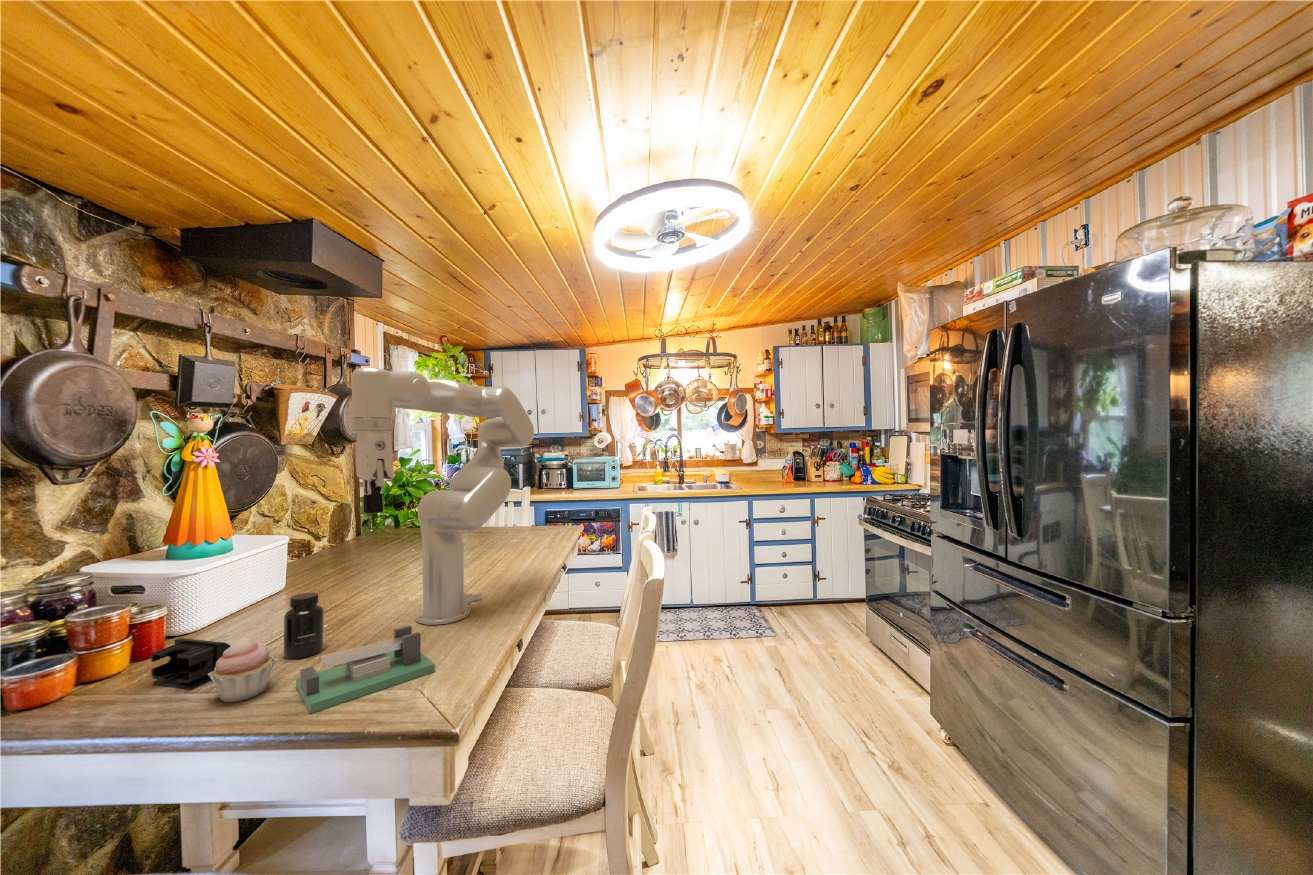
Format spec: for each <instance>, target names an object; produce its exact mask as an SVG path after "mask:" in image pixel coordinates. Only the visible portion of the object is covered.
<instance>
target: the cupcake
mask: <svg viewBox="0 0 1313 875" xmlns="http://www.w3.org/2000/svg"><path fill="white" fill-rule="evenodd" d="M230 646H231V647H230V648H228V649H227V650H225V651H224V652H223V656H222V657H221V658H220V659H219V660H218V661H217V662H216V668H214V670H215V671H213V672H211V673H209V674H208V675H209V677H210V678H211V680H212V682H213V684H214V685H215V690H216V692H217V696H218V697H219V700H220V701H222V702H224V703H235V702H241V701H244V700H248V699H252V698H253V697H256V696H258V695H260V694H261V693H263V692H264V691H265V690H266V689H267V686H268V682H269V680H270V677H271V676H270V675H271V672H272V670H273V668H274V667H275V665H276V663H277V662H278V659H276V658H274V655H270V654H269V653H270V652H269V650H268V647H267V645H266V644H264V643H262V642H259V641H254V640H252V639H249V638H247V637H244V636H241V637H240V638H239V640H238V641H237V642H236V643H234V644H233V645H230Z"/></svg>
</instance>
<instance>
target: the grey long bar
mask: <svg viewBox="0 0 1313 875" xmlns="http://www.w3.org/2000/svg"><path fill="white" fill-rule="evenodd" d="M404 636H405V635H404ZM399 649H402V637H399V638H394V637H393V638H390V639H387V640H381V641H378V642H374V643H369V644H365V645H360V646H357V647H352V648H351V647H350V648H348V649H344V650H340V651H335V652H330V653H327V654H323V655H321V660H320V661H321V662H320V663H321V664H322V665H323V667H324V668H325V669H327V668H331V667H334V666H335V667H336V666H338V665H341V664H342V665H344V664H345V663H347V662H351V661H355V660H359V659H363V658H367V657H371V656H375V655H379V654H383V653H387V652H391V651H395V650H399Z"/></svg>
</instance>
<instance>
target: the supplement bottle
mask: <svg viewBox="0 0 1313 875" xmlns="http://www.w3.org/2000/svg"><path fill="white" fill-rule="evenodd" d="M289 603H290V604H289V607H290V609H288V610H287V611H286V612H285V614H284V617H283V656H284V657H285V658H287V659H290V660H298V659H304V658H309V657H311V656H314V655H316V654H318V653H320V652H321V651H322V650H323V648H324V630H325V629H324V628H325V627H324V620H325V618H324V617H325V616H324V613H325V612H324V611H325V610H324V608H323V606H322V605H319V593H318V592H313V591H312V592H303V593H298V594H294V595H292V596H291V597H290V600H289Z"/></svg>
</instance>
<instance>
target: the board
mask: <svg viewBox="0 0 1313 875" xmlns="http://www.w3.org/2000/svg"><path fill="white" fill-rule="evenodd" d="M412 630H413V628H412V625H405V626H401V627H398V628H394V629H393V639H394V638H399V637H402V649H399V650H395V651H391V652H387V653H383V654H379V655H375V656H371V657H367V658H363V659H359V660H355V661H351V662H347V663H344V664H342V665H340V666H335V667H333V668H329V669H325V670H322V671H318V672H317V671H316V669H315V668H314V666H312V665H311V666H309V667H305V668H302V669H300V677H297V678H295V688H296V690H297V691H298V693H299V695H300V697H301V699H302V700H303V704H305V706H306V708H307V710H308V712H309V714H313V713H316V712H320V711H322V710H326V709H328V708H331V707H334V706H337V705H340V704H343V703H346V702H349V701H352V700H355V699H358V698H361V697H364V696H367V695H370V694H373V693H376V692H379V691H382V690H385V689H387V688H390V687H394V686H397V685H399V684H402V683H405V682H409V681H412V680H415V679H416V678H417V679H418V678H420V677H423V676H426V675H429V674H432V673H435V672H436V664H435V663H434V662H433V661H432V660H431V659H430V658H428V657H427V656H426V655H425V654H423V653H422V652H421V648H422V647H421V643H422V642H421V637H422V636H421V634H422V633H421V632H420V631H417V632H412ZM404 635H405V636H404Z"/></svg>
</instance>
